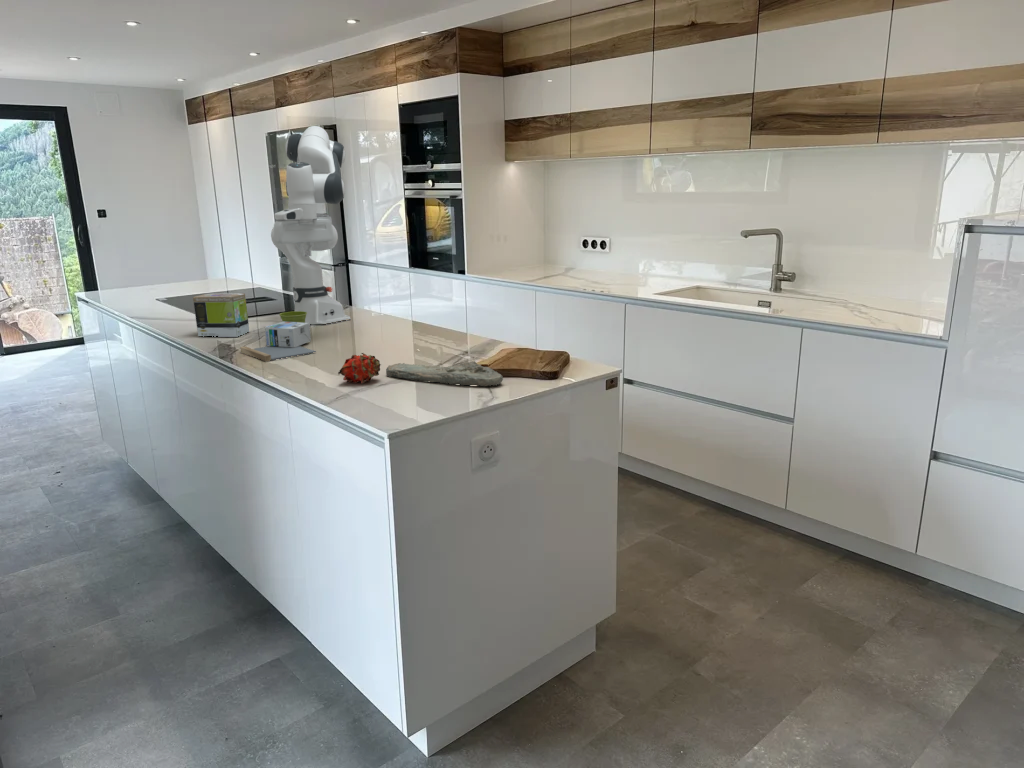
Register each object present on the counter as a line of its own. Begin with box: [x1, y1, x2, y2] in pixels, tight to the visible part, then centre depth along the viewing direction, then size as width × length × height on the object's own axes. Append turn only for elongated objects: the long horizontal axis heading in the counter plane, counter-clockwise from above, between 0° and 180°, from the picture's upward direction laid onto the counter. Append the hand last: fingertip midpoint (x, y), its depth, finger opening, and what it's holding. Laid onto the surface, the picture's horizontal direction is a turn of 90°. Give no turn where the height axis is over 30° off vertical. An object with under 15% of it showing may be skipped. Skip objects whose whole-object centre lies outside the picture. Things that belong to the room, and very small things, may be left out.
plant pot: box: [278, 310, 307, 323], centre depth 246 cm, size 9×9×9 cm
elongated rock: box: [385, 360, 504, 387], centre depth 190 cm, size 35×5×10 cm
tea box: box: [192, 292, 250, 338], centre depth 250 cm, size 15×10×15 cm, turn 84°
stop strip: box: [240, 346, 271, 362], centre depth 218 cm, size 2×18×2 cm, turn 45°
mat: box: [253, 345, 317, 361], centre depth 224 cm, size 15×18×1 cm
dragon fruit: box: [337, 352, 382, 385], centre depth 188 cm, size 8×8×12 cm
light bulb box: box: [264, 320, 312, 348], centre depth 233 cm, size 11×7×11 cm
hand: (306, 256), depth 233 cm, fingers closed
